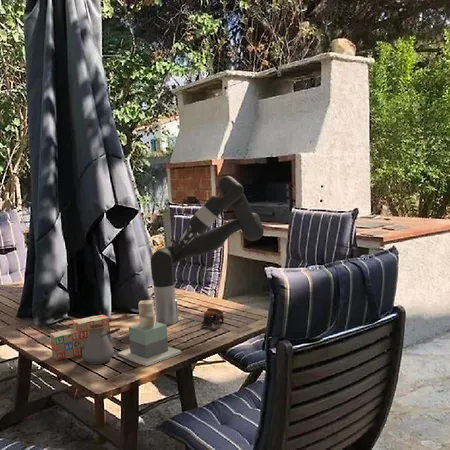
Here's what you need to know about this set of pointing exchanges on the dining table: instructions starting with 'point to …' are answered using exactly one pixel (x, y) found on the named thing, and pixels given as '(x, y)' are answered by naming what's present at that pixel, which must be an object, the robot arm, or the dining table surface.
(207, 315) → the brown toy animal
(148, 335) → the tower base
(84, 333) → the stack of blocks
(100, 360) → the coffee pot
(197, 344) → the dining table surface
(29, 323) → the dining table surface
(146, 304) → the cream brick
